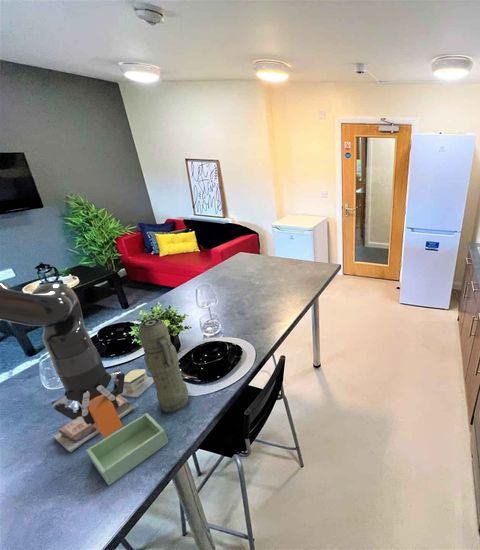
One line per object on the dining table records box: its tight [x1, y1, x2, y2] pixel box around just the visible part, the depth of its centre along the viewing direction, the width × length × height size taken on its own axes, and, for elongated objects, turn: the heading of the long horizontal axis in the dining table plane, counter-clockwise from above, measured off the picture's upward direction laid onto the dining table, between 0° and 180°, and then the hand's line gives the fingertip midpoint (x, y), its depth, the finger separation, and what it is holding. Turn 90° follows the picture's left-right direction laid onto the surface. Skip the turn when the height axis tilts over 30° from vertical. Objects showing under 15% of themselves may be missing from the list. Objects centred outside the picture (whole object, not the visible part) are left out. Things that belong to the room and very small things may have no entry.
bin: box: [85, 412, 169, 486], centre depth 88 cm, size 16×12×6 cm
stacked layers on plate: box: [120, 368, 154, 398], centre depth 111 cm, size 10×9×6 cm
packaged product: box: [53, 395, 135, 453], centre depth 96 cm, size 18×5×10 cm
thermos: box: [137, 318, 190, 413], centre depth 99 cm, size 9×12×35 cm
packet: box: [89, 394, 124, 439], centre depth 75 cm, size 4×7×8 cm, turn 59°
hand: (103, 415), depth 75 cm, fingers closed on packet, 4 cm apart
